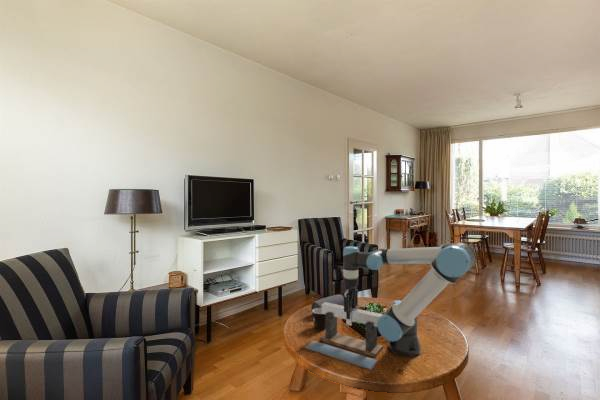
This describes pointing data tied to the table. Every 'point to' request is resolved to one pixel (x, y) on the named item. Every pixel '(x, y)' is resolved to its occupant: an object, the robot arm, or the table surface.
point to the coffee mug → (319, 319)
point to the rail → (357, 314)
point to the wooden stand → (352, 338)
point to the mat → (342, 354)
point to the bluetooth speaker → (329, 301)
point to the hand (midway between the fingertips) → (350, 323)
